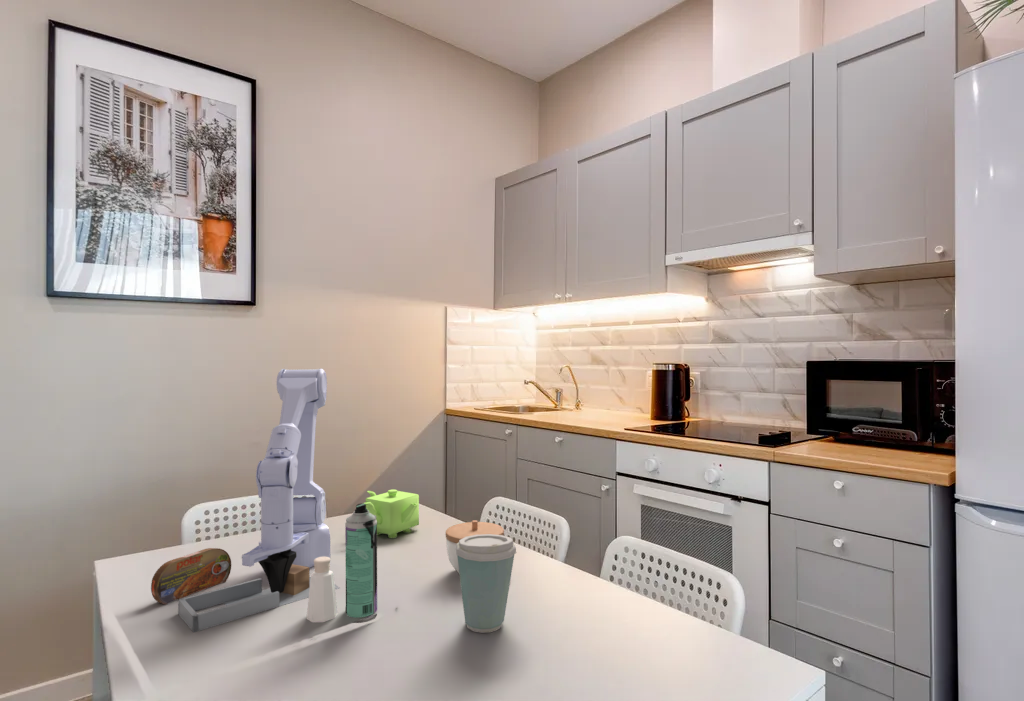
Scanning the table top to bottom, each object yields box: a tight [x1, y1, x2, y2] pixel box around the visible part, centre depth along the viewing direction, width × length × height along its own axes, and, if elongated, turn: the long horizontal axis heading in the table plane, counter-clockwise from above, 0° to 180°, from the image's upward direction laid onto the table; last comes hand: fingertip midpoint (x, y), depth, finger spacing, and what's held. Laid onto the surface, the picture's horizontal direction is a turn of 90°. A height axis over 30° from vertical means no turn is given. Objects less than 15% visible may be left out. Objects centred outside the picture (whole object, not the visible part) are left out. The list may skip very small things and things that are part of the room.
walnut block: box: [281, 564, 310, 595], centre depth 112 cm, size 4×5×4 cm
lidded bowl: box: [445, 519, 505, 576], centre depth 123 cm, size 13×13×11 cm
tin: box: [150, 547, 232, 606], centre depth 112 cm, size 15×3×8 cm, turn 151°
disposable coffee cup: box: [455, 534, 517, 633], centre depth 99 cm, size 11×11×15 cm
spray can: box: [344, 502, 378, 624], centre depth 103 cm, size 6×6×20 cm
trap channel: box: [177, 576, 341, 633], centre depth 107 cm, size 26×10×4 cm, turn 133°
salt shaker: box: [306, 556, 339, 623], centre depth 101 cm, size 5×5×11 cm
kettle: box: [364, 489, 420, 539], centre depth 152 cm, size 15×14×11 cm
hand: (277, 591), depth 109 cm, fingers closed
